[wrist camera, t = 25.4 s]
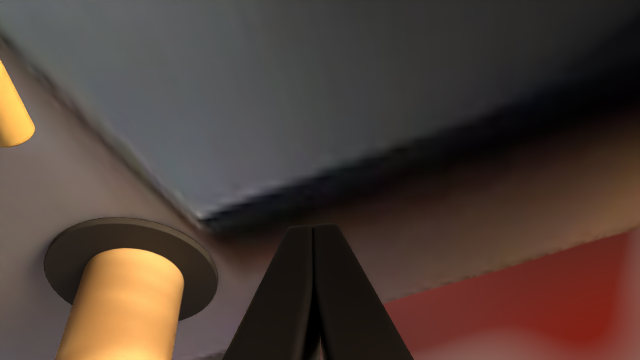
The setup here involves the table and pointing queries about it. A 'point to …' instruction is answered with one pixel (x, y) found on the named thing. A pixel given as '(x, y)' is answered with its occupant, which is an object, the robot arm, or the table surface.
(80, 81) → the table surface
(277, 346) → the robot arm
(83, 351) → the pepper mill
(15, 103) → the drawer
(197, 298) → the coaster
